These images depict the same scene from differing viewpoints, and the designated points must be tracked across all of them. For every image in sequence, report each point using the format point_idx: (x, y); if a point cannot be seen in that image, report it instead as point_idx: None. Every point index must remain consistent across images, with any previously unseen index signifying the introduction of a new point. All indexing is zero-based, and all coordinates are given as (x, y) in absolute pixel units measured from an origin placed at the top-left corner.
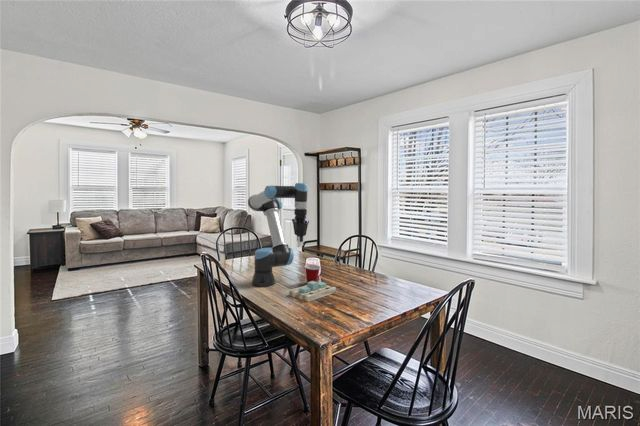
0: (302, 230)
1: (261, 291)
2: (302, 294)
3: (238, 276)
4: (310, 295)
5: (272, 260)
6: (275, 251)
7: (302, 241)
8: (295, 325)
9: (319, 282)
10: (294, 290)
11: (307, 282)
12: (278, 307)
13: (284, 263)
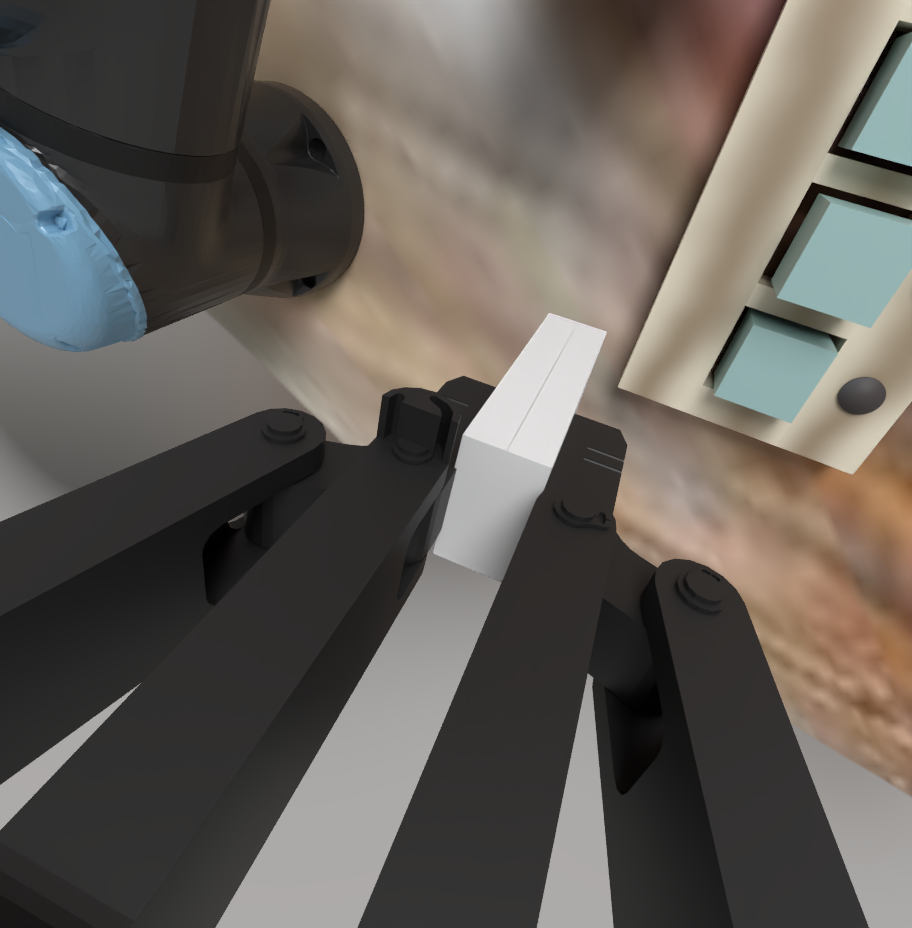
0: (614, 894)
1: (398, 370)
2: (778, 442)
3: None
4: (867, 444)
5: (201, 223)
6: (69, 125)
7: (617, 442)
8: (872, 760)
9: (907, 75)
10: (663, 373)
11: (779, 298)
12: None
13: (264, 21)
